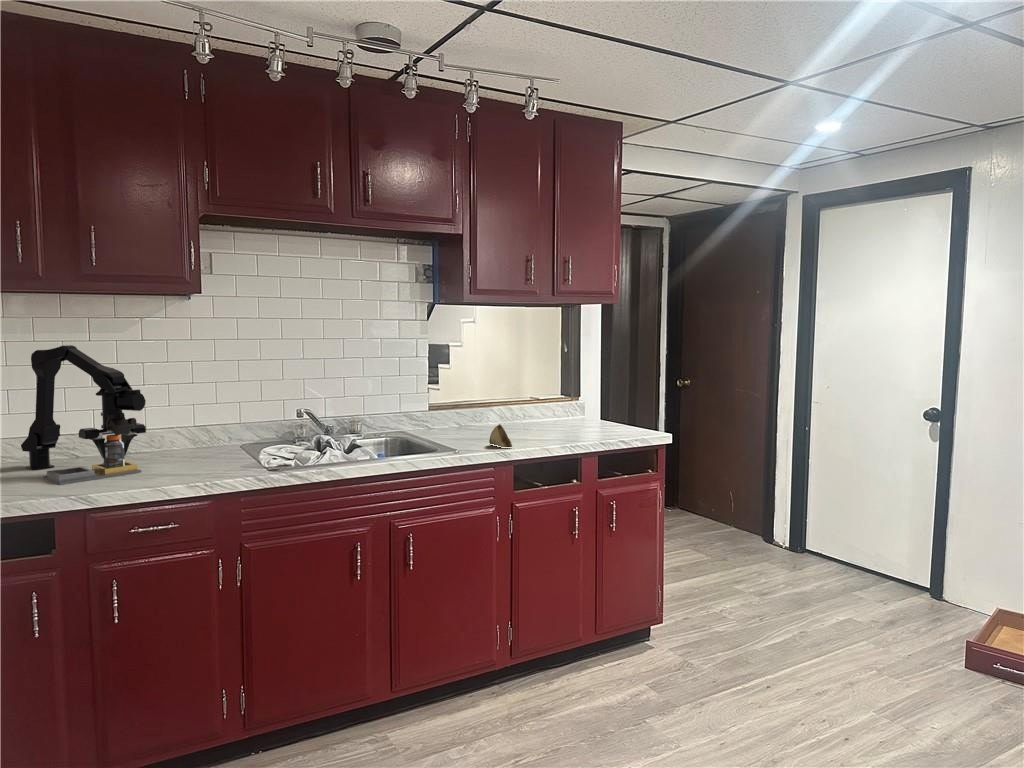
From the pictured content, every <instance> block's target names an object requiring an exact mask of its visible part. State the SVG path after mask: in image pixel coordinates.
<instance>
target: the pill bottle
mask: <svg viewBox="0 0 1024 768" xmlns="http://www.w3.org/2000/svg"><path fill="white" fill-rule="evenodd" d="M104 447H105V459H103V463H104V468H113V467H119V466H125V461H126V460H125V456H124V443H123V442H122V441H121V435H115V434H106V438H105V441H104Z"/></svg>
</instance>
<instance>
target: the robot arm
mask: <svg viewBox="0 0 1024 768" xmlns="http://www.w3.org/2000/svg"><path fill="white" fill-rule="evenodd" d="M30 360H31V361H30V363H31V368H32V371H33V373H34V374H35V375H36V389H35V390H36V393H35V399H36V400H35V419H34V421H33V422H32V423H31V425H30V427H29V429H28V430H29V431H28V433H27V434H28V436H27V437H26V438H25V439H24V441H23V442H22V443H21V444H20V446H21V447H20V448H21V449H22V452H28V455H29V456H28V459H29V465H26V466H25V468H27V469H29V470H32V471H35V470H43V469H49V468H55V465H53V464H51V457H50V449H53V448H56V445H57V442H58V440H59V437H61V432H60V431H61V424H59V423H56V421H55V419H54V408H55V407H54V405H55V382H56V381H55V380H56V376H57V374H58V373H59V371H60V370H61V367H62V362H64V361H67V362H69V363H71V365H73V366H75V367H77V368H78V369H80V370H81V371H83V372H85V373H86V374H87V375H89V376H90V377H91V379H92V381H93V383H94V384H96V385H97V386H98V387H99V388H100V389H99V391H97V392H95V396H98V397H99V396H100V397H101V412H100V416H101V417H102V424H100V425H101V427H100V428H101V429H100V428H99V429H98V428H96V427H95V428H94V427H85V428H80V429H79V430H78V438H79V439H83V440H91V441H92V442H93V444H95V445H94V446H96V448H97V450H98V452H99V455H100V456H101V458H102V459H103V460H104V459H105V447H104V443H105V442H106V438H105V437H104V435H106V436H107V435H120V438H121V439H120V440H121V441H122V442H123V443H124V457H125V456H126V455H127V452H128V449H129V446H130V444H131V442H132V440H133V439H134V438H135V437H138V434H146V433H147V427H146V425H145V424H144V423H140V422H137V419H136V418H135V417H129V418H126V417H125V413H124V412H123V411H134V412H135V411H136V412H137V411H138V412H140V411H143V409H144V408H145V406H146V398H145V396H144V394H142V392H141V389H133V388H132V386H131V385H130V384H129V382H128V381H127V379H126V378H125V374H124V373H123V371H121V370H119V369H115V368H114V367H110V366H105V365H103V364H101V363H100V362H98V361H97V360H95V359H93V358H92V357H90V356H89V355H87V354H86V353H84V352H82V351H81V350H80V349H78V348H77V346H75V345H71V344H69V345H59V346H57V347H54V348H49V349H37V350H35V351H33V352H32V353H31V356H30Z"/></svg>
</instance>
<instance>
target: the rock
mask: <svg viewBox="0 0 1024 768" xmlns="http://www.w3.org/2000/svg"><path fill="white" fill-rule="evenodd" d="M488 443H490V444H494V445H498V446H501V447H513V444H512V442H511V440H510V438H509V436H508V434H507V432H506V431H505V429H504V428H503V426H502V424H501V423H498V424H497V425H496V426H495V427H494V428H493V430H491V433H490V436H489V441H488ZM490 444H489V445H490Z"/></svg>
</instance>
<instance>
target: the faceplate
mask: <svg viewBox="0 0 1024 768" xmlns="http://www.w3.org/2000/svg"><path fill="white" fill-rule="evenodd" d="M102 463H103V464H102ZM102 463H96V464H91V468H88V467H85V466H76V467H69V468H68V467H67V468H62V469H54V470H48V471H46V475H44V476H43V478H42V479H43V480H46V481H48V482H51V483H53V484H56V485H59V486H63V485H68V484H69V485H71V484H74V483H75V484H76V483H82V482H88V481H94V480H95V481H96V480H101V479H107V478H108V479H109V478H114V476H115V477H121V476H126V475H133V474H140V473H142V469H139V468H138V464H137V463H134V462H130V461H127V460H125V466H119V467H113V468H104V462H102Z"/></svg>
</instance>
